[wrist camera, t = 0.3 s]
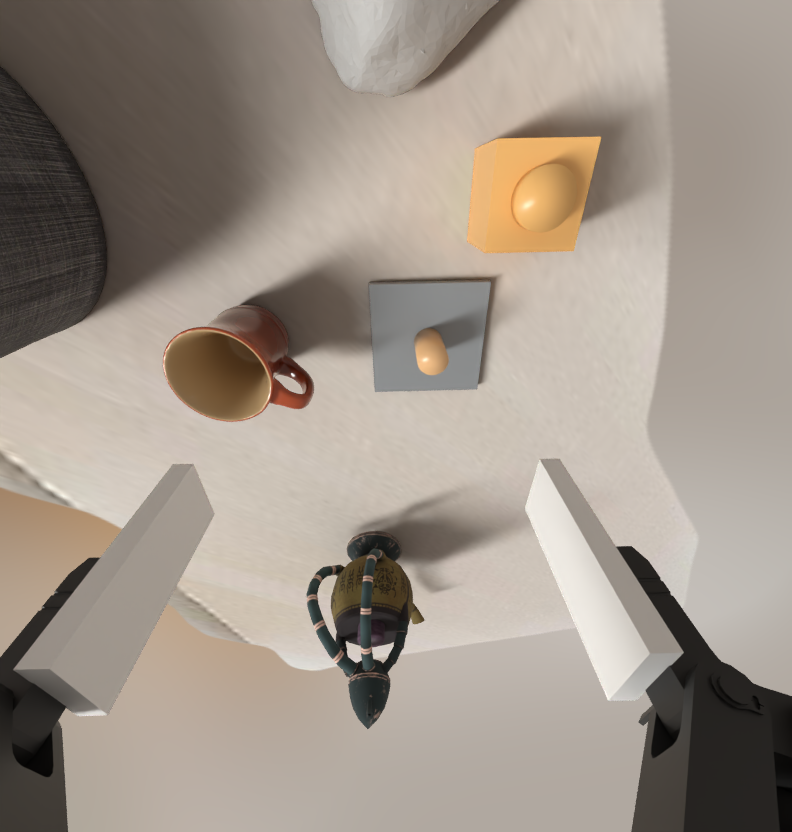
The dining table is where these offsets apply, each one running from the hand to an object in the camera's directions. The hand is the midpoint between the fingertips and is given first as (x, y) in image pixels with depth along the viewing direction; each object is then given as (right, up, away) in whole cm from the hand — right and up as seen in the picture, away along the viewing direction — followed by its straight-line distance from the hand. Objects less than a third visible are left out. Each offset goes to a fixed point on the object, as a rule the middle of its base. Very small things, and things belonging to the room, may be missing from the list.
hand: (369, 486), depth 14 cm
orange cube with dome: (+11, +22, +17) cm, 30 cm away
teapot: (-1, -22, +46) cm, 51 cm away
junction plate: (+4, +11, +24) cm, 27 cm away
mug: (-13, +11, +24) cm, 30 cm away
